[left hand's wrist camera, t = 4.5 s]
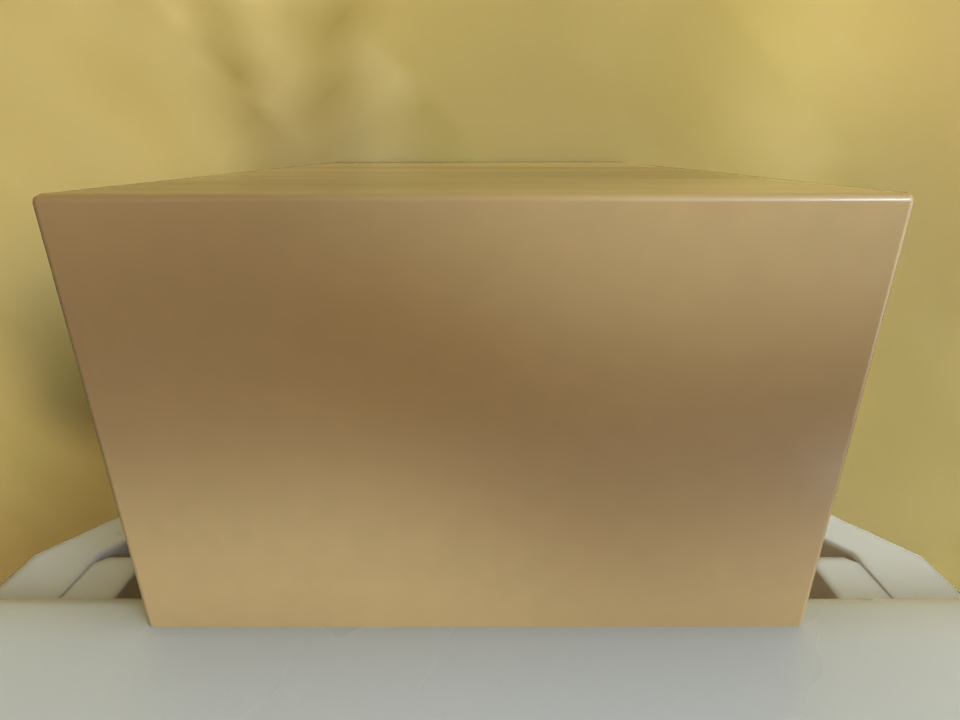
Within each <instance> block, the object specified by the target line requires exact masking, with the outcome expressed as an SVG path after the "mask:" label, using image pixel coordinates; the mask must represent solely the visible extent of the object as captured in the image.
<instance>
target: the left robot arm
mask: <svg viewBox="0 0 960 720" xmlns="http://www.w3.org/2000/svg"><path fill="white" fill-rule="evenodd" d="M0 720H960V592H959V591H958V590H956V589H955V588H954V587H953V586H952V585H951V584H950V583H949V582H948V581H947V580H946V579H945V578H944V577H942V576H941V575H940V574H939V573H938V572H937V571H936V570H935V569H934V568H933V567H932V566H931V565H930V564H928V563H927V562H926V561H925V560H924V559H923V558H922V557H921V556H920V555H917V554H915V553H913V552H911V551H909V550H906V549H904V548H902V547H900V546H898V545H896V544H893V543H891V542H889V541H887V540H885V539H882V538H880V537H878V536H876V535H874V534H872V533H869V532H867V531H865V530H863V529H861V528H858V527H856V526H854V525H852V524H850V523H848V522H845V521H843V520H841V519H839V518H837V517H834V516H832V515H830V519H829V523H828V527H827V530H826V534H825V538H824V542H823V545H822V549H821V553H820V557H819V560H818V564H817V568H816V572H815V575H814V579H813V583H812V587H811V590H810V594H809V598H808V602H807V606H806V609H805V613H804V617H803V621H802V624H801V626H724V627H152V626H150V625H149V622H148V618H147V614H146V611H145V607H144V603H143V600H142V596H141V593H140V589H139V585H138V582H137V578H136V575H135V571H134V567H133V564H132V560H131V557H130V553H129V549H128V546H127V542H126V538H125V535H124V531H123V528H122V524H121V520H120V517H117V518H115V519H112V520H110V521H108V522H106V523H104V524H101V525H99V526H97V527H95V528H92V529H90V530H88V531H86V532H84V533H81V534H79V535H77V536H75V537H73V538H70V539H68V540H66V541H64V542H62V543H59V544H57V545H55V546H53V547H51V548H48V549H46V550H44V551H42V552H40V553H37V554H35V555H33V556H32V557H31V558H30V559H29V560H28V561H27V562H26V563H25V564H24V565H22V566H21V567H20V568H19V569H18V570H17V571H16V572H15V573H14V574H13V575H11V576H10V577H9V578H8V579H7V580H6V581H5V582H4V583H3V584H2V585H0Z"/></svg>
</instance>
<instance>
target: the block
mask: <svg viewBox="0 0 960 720" xmlns="http://www.w3.org/2000/svg"><path fill="white" fill-rule="evenodd" d="M913 203H914V199H913V196H912V195H910V194H908V193H904V192H895V191H886V190H876V189H867V188H858V187H848V186H839V185H830V184H820V183H811V182H802V181H792V180H783V179H774V178H764V177H755V176H746V175H736V174H727V173H718V172H708V171H699V170H690V169H680V168H671V167H662V166H653V165H643V164H634V163H625V162H334V163H325V164H315V165H306V166H297V167H287V168H278V169H268V170H259V171H250V172H240V173H231V174H222V175H212V176H203V177H194V178H184V179H175V180H166V181H156V182H147V183H138V184H128V185H119V186H110V187H100V188H91V189H82V190H72V191H63V192H53V193H44V194H39V195H37V196H35V197H34V198H33V206H34V210H35V213H36V217H37V221H38V224H39V228H40V232H41V235H42V239H43V242H44V246H45V250H46V253H47V257H48V260H49V264H50V268H51V271H52V275H53V279H54V282H55V286H56V289H57V293H58V297H59V300H60V304H61V307H62V311H63V315H64V318H65V322H66V325H67V329H68V333H69V336H70V340H71V343H72V347H73V351H74V354H75V358H76V362H77V365H78V369H79V372H80V376H81V380H82V383H83V387H84V390H85V394H86V398H87V401H88V405H89V409H90V412H91V416H92V419H93V423H94V427H95V430H96V434H97V437H98V441H99V445H100V448H101V452H102V455H103V459H104V463H105V466H106V470H107V473H108V477H109V481H110V484H111V488H112V492H113V495H114V499H115V502H116V506H117V510H118V513H119V517H120V520H121V524H122V528H123V531H124V535H125V538H126V542H127V546H128V549H129V553H130V557H131V560H132V564H133V567H134V571H135V575H136V578H137V582H138V585H139V589H140V593H141V596H142V600H143V603H144V607H145V611H146V614H147V618H148V622H149V625H150V626H152V627H724V626H801V624H802V621H803V617H804V613H805V609H806V606H807V602H808V598H809V594H810V590H811V587H812V583H813V579H814V575H815V572H816V568H817V564H818V560H819V557H820V553H821V549H822V545H823V542H824V538H825V534H826V530H827V527H828V523H829V519H830V515H831V512H832V508H833V504H834V500H835V496H836V493H837V489H838V485H839V481H840V478H841V474H842V470H843V466H844V463H845V459H846V455H847V451H848V448H849V444H850V440H851V436H852V433H853V429H854V425H855V421H856V418H857V414H858V410H859V406H860V402H861V399H862V395H863V391H864V387H865V384H866V380H867V376H868V372H869V369H870V365H871V361H872V357H873V354H874V350H875V346H876V342H877V339H878V335H879V331H880V327H881V324H882V320H883V316H884V312H885V308H886V305H887V301H888V297H889V293H890V290H891V286H892V282H893V278H894V275H895V271H896V267H897V263H898V260H899V256H900V252H901V248H902V245H903V241H904V237H905V233H906V230H907V226H908V222H909V218H910V214H911V211H912V207H913Z"/></svg>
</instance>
